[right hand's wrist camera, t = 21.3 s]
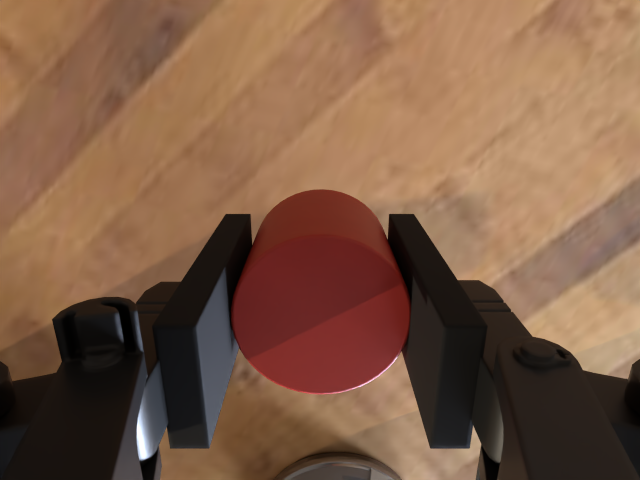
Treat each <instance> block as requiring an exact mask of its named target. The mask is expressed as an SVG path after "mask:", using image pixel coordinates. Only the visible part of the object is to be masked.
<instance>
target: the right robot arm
mask: <svg viewBox="0 0 640 480" xmlns="http://www.w3.org/2000/svg"><path fill="white" fill-rule="evenodd" d="M388 242H389V245H390V247H391V249H392V252H393V254H394V257H395V259H396V262H397V264H398V267H399V269H400V272H401V274H402V276H403V279H404V281H405V284H406V286H407V289H408V292H409V295H410V299H411V316H410V329H409V335H408V338H407V341H406V343H405V345H404V347H403V349H402V353H403V357H404V360H405V364H406V367H407V370H408V374H409V377H410V381H411V384H412V387H413V391H414V394H415V398H416V401H417V404H418V408H419V411H420V415H421V418H422V421H423V425H424V428H425V432H426V435H427V439H428V442H429V445H430V448H470V442H471V435H472V428H473V426H474V428H475V430H476V432H477V435H478V437H479V439H480V442H481V450H480V457H479V463H478V469H477V475H476V480H640V359H639V360H638V361H636V362H635V363H634V364H632V367H631V371H630V374H629V378H628V379H623V378H618V377H612V376H607V375H602V374H597V373H592V372H588V371H584V370H582V368H581V366H580V364H579V362H578V361H577V359H576V358H575V357H574V356H573V355H572V354H571V352H569V351H567V350H566V349H564V348H563V347H561V346H560V345H558V344H555V343H553V342H550V341H548V340H545V339H541V338H536V337H532V335H531V334H530V333H529V332H528V330H527V329H526V328H525V327H524V326H523V324H522V323H521V322H520V321H519V319H518V318H517V317H516V316H515V314H514V313H513V312H511V309H510V308H509V307H508V306H507V304H506V303H504V302H503V299H502V298H501V297H500V296H499V294H498V293H497V292H496V291H495V290H494V289H493V288H491V287H489V286H488V285H486V284H484V283H483V282H481V281H479V280H457V279H456V277H455V276H454V274H453V273H452V271H451V270H450V268H449V267H448V265H447V264H446V262H445V261H444V259H443V258H442V256H441V254H440V253H439V251H438V250H437V248H436V247H435V245H434V244H433V242H432V241H431V239H430V238H429V236H428V235H427V233H426V232H425V230H424V229H423V227H422V226H421V224H420V223H419V221H418V220H417V218H416V217H415V215H414V214H389V228H388ZM251 248H252V234H251V216H250V214H226V215H225V216H224V218H223V219H222V221H221V222H220V224H219V225H218V227H217V228H216V230H215V231H214V233H213V234H212V236H211V237H210V239H209V240H208V242H207V243H206V245H205V246H204V248H203V249H202V251H201V252H200V254H199V255H198V257H197V258H196V260H195V262H194V263H193V265H192V266H191V268H190V269H189V271H188V272H187V274H186V275H185V277H184V278H183V280H182V281H181V282H160V283H158V284H157V285H155V286H153V287H151V288H150V289H148V290H146V291H145V292H144V293H143V295H142V296H141V297H140V298H139V300H138V301H137V302H136V304H135V303H134V302H132V301H131V300H130V299H125V298H121V297H102V298H96V299H90V300H86V301H83V302H80V303H77V304H74V305H72V306H70V307H68V308H66V309H64V310H62V311H61V312H59V313H58V314H57V315H56V316H55V317H54V318H53V319H52V321H53V325H54V330H55V334H56V338H57V342H58V347H59V351H60V355H61V359H62V363H61V365H60V367H59V369H58V370H57V372H56V373H53V374H49V375H44V376H38V377H33V378H28V379H23V380H17V381H12V379H11V376H10V373H9V369H8V367H7V366H6V365H5V364H4V363H2V362H1V361H0V480H160V475H161V468H162V464H161V457H160V450H159V443H160V441H161V439H162V436H163V434H164V432H165V429H166V427H167V431H168V437H169V444H170V448H210V444H211V441H212V437H213V434H214V431H215V427H216V424H217V420H218V417H219V414H220V410H221V407H222V403H223V400H224V396H225V393H226V390H227V386H228V383H229V379H230V376H231V373H232V369H233V366H234V362H235V359H236V356H237V352H238V349H239V346H238V344H237V341H236V339H235V337H234V333H233V329H232V323H231V304H232V298H233V294H234V291H235V288H236V285H237V283H238V280H239V278H240V275H241V273H242V270H243V268H244V265H245V263H246V260H247V258H248V255H249V253H250V250H251ZM274 480H402V479H401V478H400V477H399V476H398V475H397V474H396V473H395V472H394V471H393V470H392V469H390V468H389V467H388V466H386V465H384V464H383V463H381V462H379V461H377V460H374V459H372V458H369V457H366V456H362V455H358V454H352V453H325V454H319V455H314V456H311V457H307V458H305V459H302V460H300V461H298V462H296V463H294V464H292V465H290V466H289V467H287V468H286V469H284V470H283V471H282V472H281V473H280V474H279V475H278V476H277V477H276V478H275V479H274Z"/></svg>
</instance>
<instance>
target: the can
mask: <svg viewBox="0 0 640 480" xmlns="http://www.w3.org/2000/svg"><path fill="white" fill-rule="evenodd" d="M410 316H411V299H410V295H409V292H408V289H407V286H406V284H405V281H404V279H403V276H402V274H401V272H400V269H399V267H398V264H397V262H396V259H395V257H394V254H393V252H392V249H391V247H390V245H389V242H388V240H387V237H386V235H385V232H384V230H383V228H382V225H381V223H380V222H379V220H378V219H377V217H376V216H375V215H374V213H373V212H372V211H371V210H370V209H369V208H368V207H367V206H366V205H365V204H363V203H362V202H360V201H359V200H357V199H355V198H354V197H352V196H350V195H347V194H344V193H342V192H337V191H333V190H310V191H304V192H301V193H298V194H295V195H293V196H290V197H288V198H287V199H285V200H283V201H282V202H280V203H279V204H278V205H276V206H275V207H274V208H273V209H272V210H271V211H270V212H269V213H268V214H267V216H266V217H265V219H264V220H263V222H262V224H261V226H260V228H259V230H258V232H257V235H256V237H255V240H254V242H253V245H252V248H251V250H250V253H249V255H248V258H247V260H246V263H245V265H244V268H243V270H242V273H241V275H240V278H239V280H238V283H237V285H236V288H235V291H234V294H233V298H232V304H231V323H232V329H233V333H234V337H235V339H236V341H237V344H238V346H239V348H240V350H241V351H242V353H243V355H244V356H245V358H246V359H247V360H248V361H249V363H250V364H251V365H252V366H253V367H254V368H255V369H256V370H257V371H258V372H259V373H261V374H262V375H263V376H265V377H266V378H267V379H269V380H271V381H273V382H274V383H276V384H278V385H280V386H283V387H285V388H288V389H291V390H294V391H298V392H303V393H310V394H333V393H340V392H344V391H348V390H352V389H355V388H357V387H360V386H362V385H364V384H366V383H368V382H370V381H372V380H373V379H375V378H376V377H378V376H379V375H381V374H382V373H383V372H384V371H385V370H387V369H388V368H389V367H390V366H391V364H392V363H393V362H394V361H395V360H396V358H397V357H398V356H399V354H400V353H401V351H402V349H403V347H404V345H405V343H406V341H407V338H408V335H409V329H410Z"/></svg>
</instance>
